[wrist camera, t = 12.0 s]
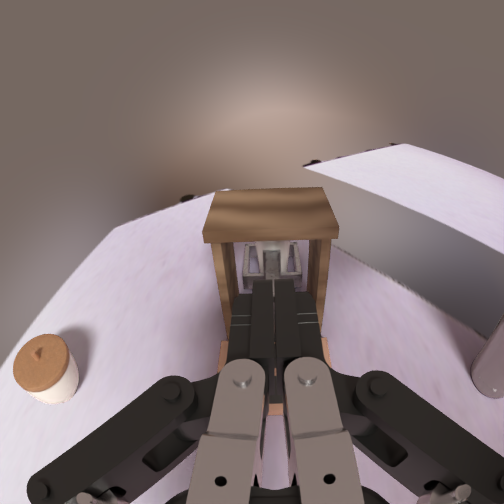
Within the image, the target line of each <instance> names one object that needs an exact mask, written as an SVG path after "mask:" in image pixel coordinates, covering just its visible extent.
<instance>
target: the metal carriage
mask: <svg viewBox="0 0 504 504" xmlns="http://www.w3.org/2000/svg"><path fill="white" fill-rule="evenodd" d="M289 257H293V259H294V266H295V272H281V252H280V249H279V250H263V267H264V273H249V271H250V258H258V257H257V251H256V245H255V244H246V245H245V256H244V268H243V284H244V289H253V280H266V279H272V282H273V318H274V342H276V334H275V293H274V279H292V278H293V279H294V287H301V285H302V271H301V265H300V258H299V252H298V246H297V242H290V248H289ZM311 296H312V295H311ZM236 298H237V297H234V301H235V300H236Z"/></svg>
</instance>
